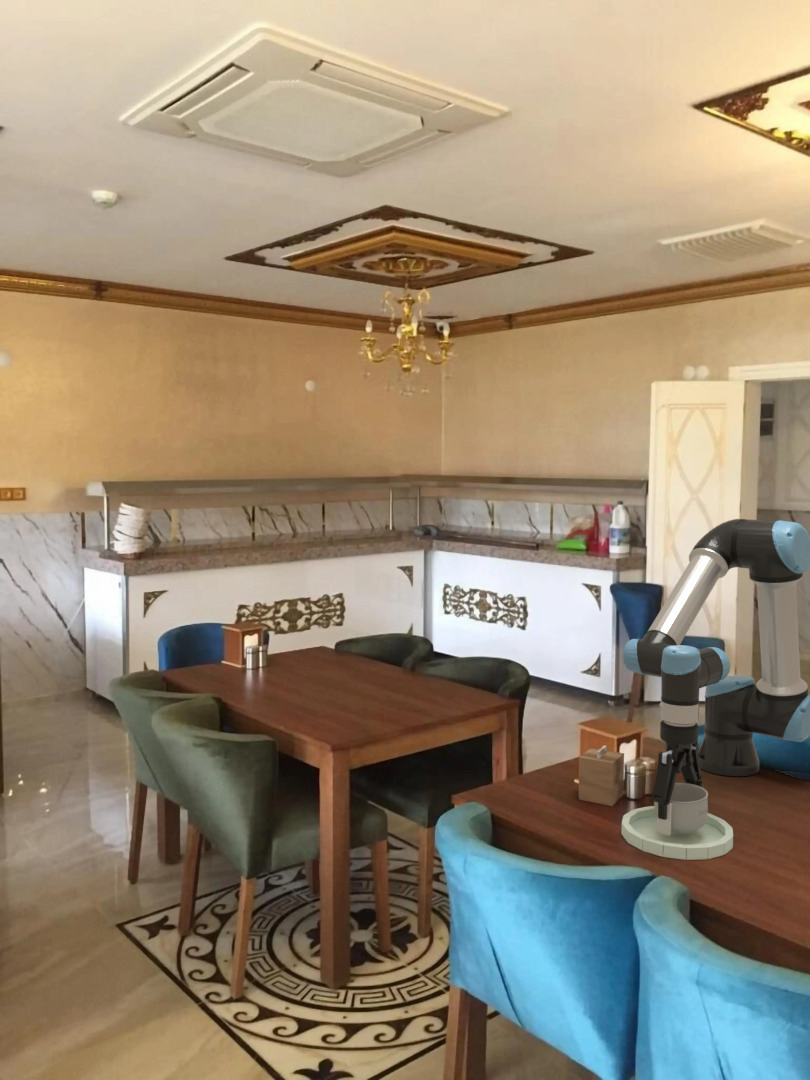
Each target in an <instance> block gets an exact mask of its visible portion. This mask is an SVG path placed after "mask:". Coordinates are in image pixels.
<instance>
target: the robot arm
mask: <svg viewBox="0 0 810 1080" xmlns="http://www.w3.org/2000/svg"><path fill="white" fill-rule="evenodd" d="M688 562H689V563H688V565H687V566H686V567H685V569H684V571H683V572H682V574H681V576H680V578H679V579H678V581H677V583H676V584H675V586H674V588H673V589H672V591H671V593H670V594H669V596H668V597H667V599H666V601H665V602H664V604H663V606H662V607H661V609H660V611H659V612H658V614H657V615H656V617H655V619H654V620H653V622H652V623H651V625H650V627H649V628H648V630H647V632H646V633H645V635H644V636H643V637H642V639H641V638H632V639H630V640H628V641H627V642H626V643H625V646H624V648H623V653H622V661H623V664H624V666H625V668H626V669H627V671H629V672H633V673H636V674H639V675H643V676H651V677H655V678H656V677H658V678H660V679H661V682H660V683H661V685H660V686H661V688H660V691H661V695H660V703H659V707H660V719H661V721H660V723H659V724H660V727H659V728H660V729H659V737H660V739H661V740H662V741H663V742H665V744H666V748H665V752H662V751H659V752H658V761H657V762H658V764H657V768H656V773H655V774H656V775H655V778H654V779H655V780H654V784H653V785H654V786H653V790H652V791H653V792H652V796H651V801H652V802H653V803H654V802H658V805H657V832H658V833H662V834H665V835H669V836H670V835H671V815H672V803H669V802H670V799H671V795H672V792H673V788H674V784H675V783H676V781H677V778H678V777H677V776H678V775H679V774H680V773H681V774H682V777H683V780H684V783H689V784H694V785H697V786H700V787H702V785H703V782H702V779H703V776H702V775H703V774H702V770H703V771H705V772H708V773H712V774H713V775H720V776H728V777H747V776H752V775H756V774H758V773H759V771H760V758H759V756H758V753H757V748H756V746H755V743H754V739H753V737H754V736H753V735H754V734H757V735H762V736H766V737H770V738H771V737H772V738H776V739H780V740H784V741H786V742H787V741H791V742H796V743H797V742H798V743H802V742H804V741H806V740H807V739H808V738H809V737H810V694H809V687H808V686H809V685H808V683H807V682H806V681H805V680H804V679H802V678H801V660H800V659H801V658H800V642H799V641H800V639H799V636H800V635H799V620H798V619H799V618H798V601H797V600H798V597H797V583H799V581H801V580H802V579H803V574H804V573H806V572H807V571H808V570H809V568H810V534H809V533H808V531H807V530H806V528H805V527H804V526H803V525H802V524H801V523H798V522H795V521H785V520H782V519H780V520H779V519H778V520H774V519H745V518H736V519H735V518H733V519H731V520H727V521H724V522H722V523H720V524H718V525H717V526H715V527H713V528H712V529H711V530H709V531H708V532H707V533H706V534H705V535H704V536H702V537H701V538H700V539H699V540H698V541H697V542H696V544H695V545H694V546H693V548H692V550H691V551H690V553H689V555H688ZM734 568H740V569H741V568H742V569H748V574H749V580H750V581H751V582H752V583H754V584H755V585H756V593H757V594H756V595H757V609H758V611H757V612H758V626H759V627H758V629H759V643H760V644H759V646H760V647H759V648H760V664H761V678H760V679H759V680H758V681H757V682H756V680H755V678H754V677H752V676H747V675H729V673H730V671H731V661H730V659H729V656H728V655H727V653H726V652H725V651H724V650H722V649H721V648H718V647H714V646H713V647H711V646H710V647H709V646H708V647H703V648H697V647H694V646H691V645H684V644H683V645H682V642H683V640H684V639H685V636H686V634H687V633H688V631H689V630H690V628H691V627H692V625H693V623H694V621H695V620H696V618H697V616H698V614H699V612H700V611H701V609H702V607H703V606H704V605H705V603H706V601H707V598H708V597H709V596H710V594H711V592H712V591H713V589H714V588H715V585H716V583H717V582H718V581H719V579H721V578H724V577H725V576H726V575H727V574H728V573H729V570H731V569H734ZM702 688H705V692H704V694H705V695H704V733H703V734H704V735H703V737H702V740H701V743H700V746H699V724H698V722H699V721H700V689H702Z"/></svg>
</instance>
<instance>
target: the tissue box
mask: <svg viewBox="0 0 810 1080" xmlns="http://www.w3.org/2000/svg"><path fill="white" fill-rule="evenodd" d="M607 749H608V748H607V745H602V747H600V748H595V747H594V748H593V747H590V748H589V749H588V750H587V751H585V752H584V753H582V754H581V755H580V756H579V757H578V800H580V801H584V802H590V803H594V804H600V805H604V806H611V807H614V805H615V804H616V803H617V802H619V800H620V799H621V798H622V797H623V796H624V784H625V783H624V777H625V776H624V775H625V774H624V773H625V753H624V752H617V751H613V750H607Z"/></svg>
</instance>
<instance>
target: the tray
mask: <svg viewBox="0 0 810 1080" xmlns="http://www.w3.org/2000/svg"><path fill="white" fill-rule="evenodd" d="M620 832H621V835H622V837H623V838H624V840H625V841H626V842H627V843H628V844H629V845H631V846H633V847H635V848H636V849H638V850H640V851H642V852H644V853H648V854H650V855H655V856H659V857H662V858H666V859H667V858H669V859H675V860H682V861H690V860H691V861H694V860H695V861H697V860H711V859H713V858H717V857H721V856H724V855H727V854H728V853H729V852H730V851H731V850H732V849H734V829H733V827H732V826H731V825H730V824H729V823H728V822H727V821H726V820H725V819H722V818H720V817H718V816H716V815H714V814H712V813H711V812H710V813H709V812H708V815H707V821H706V823H705V824H704V826H702V827H701V828H699V829H698V830H697V831H696V832H693V833H688V834H680V833H674V832H671V835H670V836H669V835H665V834H662V833H658V832H657V818H656V815H655V806H654V805H650V806H643V807H639V808H634V809H631V810H630V811H629V812H626V813H625V814H624V815H622V820H621V831H620Z"/></svg>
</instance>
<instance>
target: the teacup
mask: <svg viewBox="0 0 810 1080" xmlns="http://www.w3.org/2000/svg"><path fill="white" fill-rule="evenodd" d="M708 797H709V792H708V791H707V789H705V788H704V787H702V786H701V787H700V786H697V785H694V784H689V783H686V782H675V784H674V788H673V792H672V795H671V799H670V802H669V803H672V815H671V832H674V833H680V834H688V833H693V832H696V831H697V830H698V829H699V828H701V827H702V826H704V824H705V823H706V821H707V815H708V813H709V811H708V810H709V808H708V807H709V803H708V801H709V799H708ZM657 805H658V802H654V801H653V806H655V815H656V818H657Z"/></svg>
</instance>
